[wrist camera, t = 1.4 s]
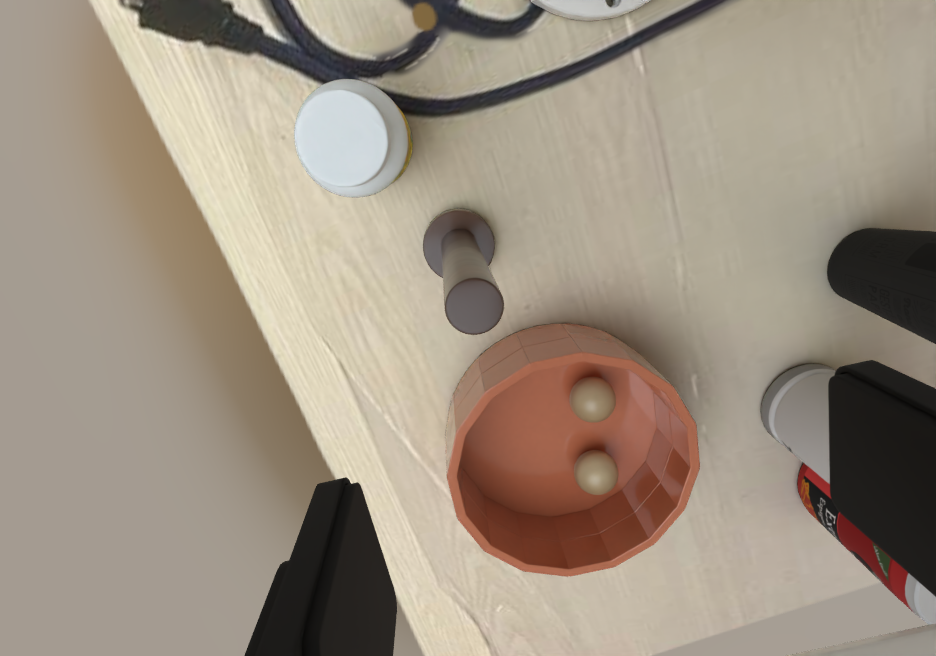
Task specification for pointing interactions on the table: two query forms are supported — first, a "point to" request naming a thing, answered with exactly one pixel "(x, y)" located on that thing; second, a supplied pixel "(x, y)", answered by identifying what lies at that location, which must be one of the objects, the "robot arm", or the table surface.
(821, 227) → the table surface
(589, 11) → the robot arm
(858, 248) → the drinking cup
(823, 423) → the travel mug
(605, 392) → the bead
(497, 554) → the bowl
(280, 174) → the table surface
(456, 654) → the table surface
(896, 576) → the canned food
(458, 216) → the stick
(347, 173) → the supplement bottle
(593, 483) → the bead
